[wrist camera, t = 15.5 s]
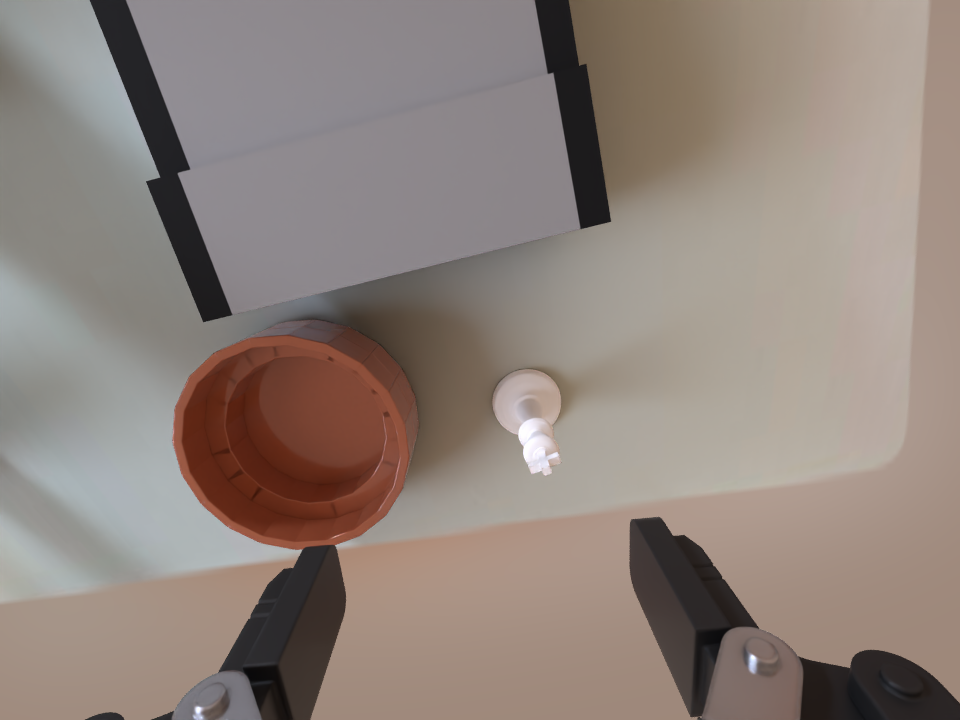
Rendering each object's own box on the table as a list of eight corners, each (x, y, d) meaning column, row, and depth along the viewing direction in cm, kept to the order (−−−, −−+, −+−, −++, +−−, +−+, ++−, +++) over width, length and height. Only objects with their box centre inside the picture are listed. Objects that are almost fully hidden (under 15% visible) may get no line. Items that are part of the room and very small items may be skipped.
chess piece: (481, 385, 33) (483, 448, 23) (545, 358, 32) (574, 411, 23) (508, 443, 34) (520, 526, 24) (570, 417, 34) (608, 492, 24)
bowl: (200, 327, 32) (144, 346, 26) (406, 310, 31) (392, 326, 26) (245, 508, 35) (204, 556, 30) (429, 494, 35) (420, 541, 30)
